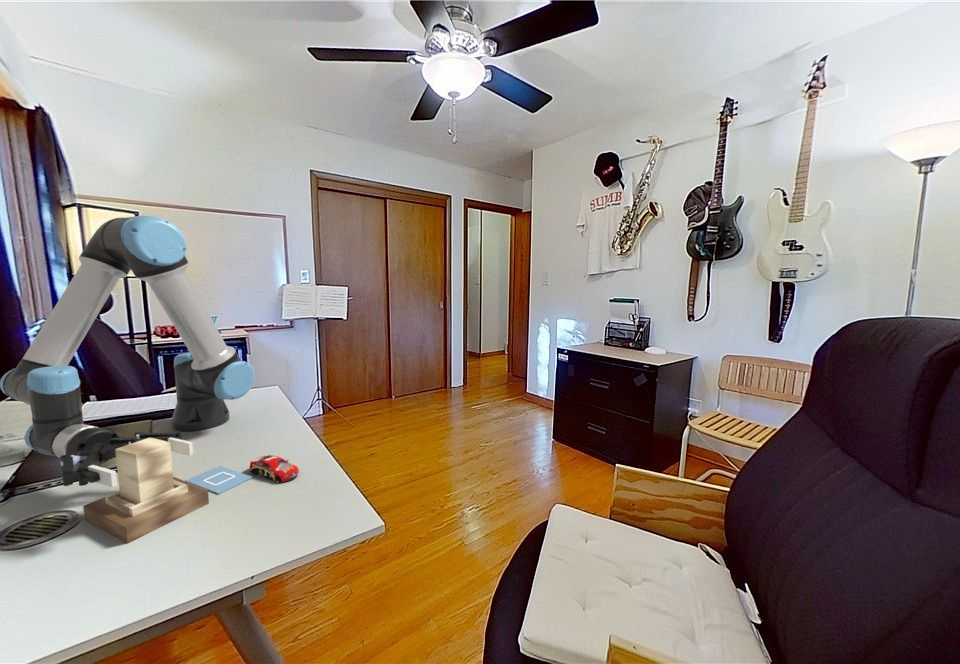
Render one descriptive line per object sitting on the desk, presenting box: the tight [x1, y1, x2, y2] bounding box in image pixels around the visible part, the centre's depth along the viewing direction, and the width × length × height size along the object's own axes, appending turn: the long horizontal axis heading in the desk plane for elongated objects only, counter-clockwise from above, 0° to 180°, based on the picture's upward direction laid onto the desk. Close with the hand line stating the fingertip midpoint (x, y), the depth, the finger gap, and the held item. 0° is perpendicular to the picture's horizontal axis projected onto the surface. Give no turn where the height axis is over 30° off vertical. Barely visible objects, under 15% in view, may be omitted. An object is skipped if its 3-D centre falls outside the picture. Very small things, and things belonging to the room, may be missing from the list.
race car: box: [249, 454, 300, 483], centre depth 95 cm, size 13×5×4 cm, turn 65°
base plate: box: [82, 476, 210, 544], centre depth 79 cm, size 14×15×4 cm
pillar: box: [115, 438, 174, 505], centre depth 78 cm, size 6×6×11 cm
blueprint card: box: [184, 465, 254, 495], centre depth 92 cm, size 8×12×1 cm, turn 66°
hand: (156, 462), depth 77 cm, fingers open, 13 cm apart
